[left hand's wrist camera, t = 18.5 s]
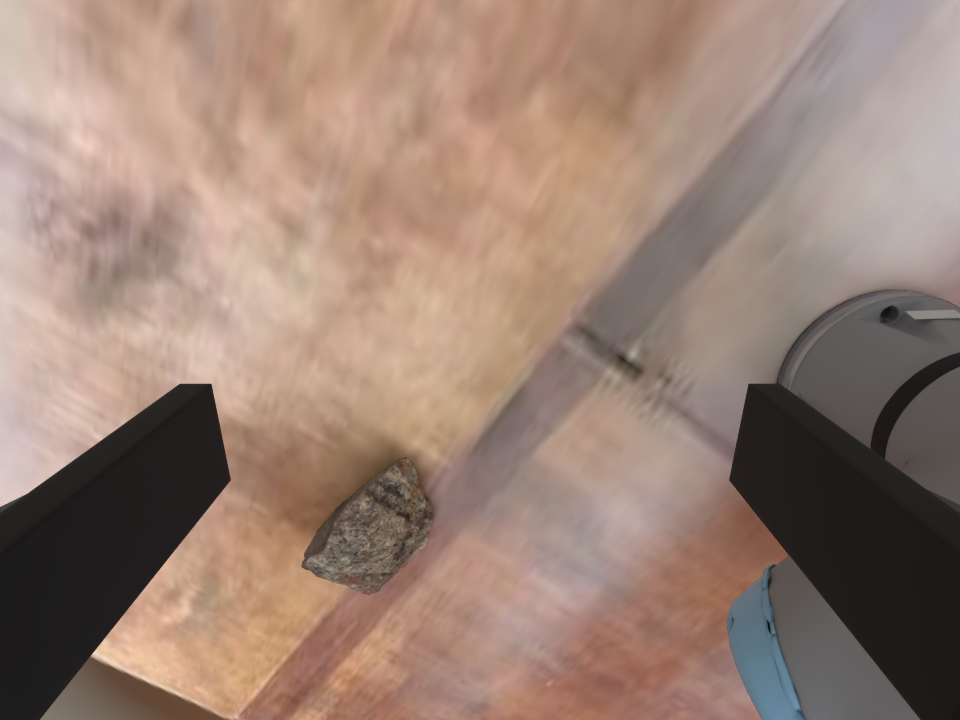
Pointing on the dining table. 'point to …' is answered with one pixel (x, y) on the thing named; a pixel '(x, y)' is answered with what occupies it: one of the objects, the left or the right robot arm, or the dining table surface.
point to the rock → (373, 531)
